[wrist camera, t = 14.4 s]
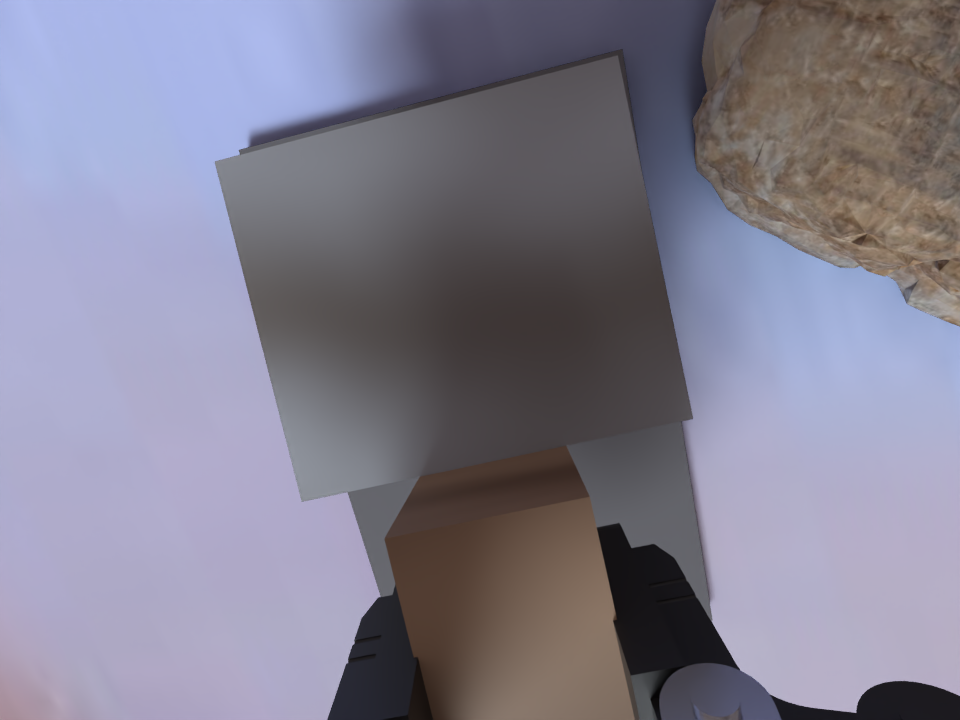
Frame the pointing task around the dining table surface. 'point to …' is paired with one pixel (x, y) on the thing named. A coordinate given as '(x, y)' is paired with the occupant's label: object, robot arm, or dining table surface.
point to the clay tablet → (841, 133)
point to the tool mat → (572, 452)
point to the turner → (471, 363)
